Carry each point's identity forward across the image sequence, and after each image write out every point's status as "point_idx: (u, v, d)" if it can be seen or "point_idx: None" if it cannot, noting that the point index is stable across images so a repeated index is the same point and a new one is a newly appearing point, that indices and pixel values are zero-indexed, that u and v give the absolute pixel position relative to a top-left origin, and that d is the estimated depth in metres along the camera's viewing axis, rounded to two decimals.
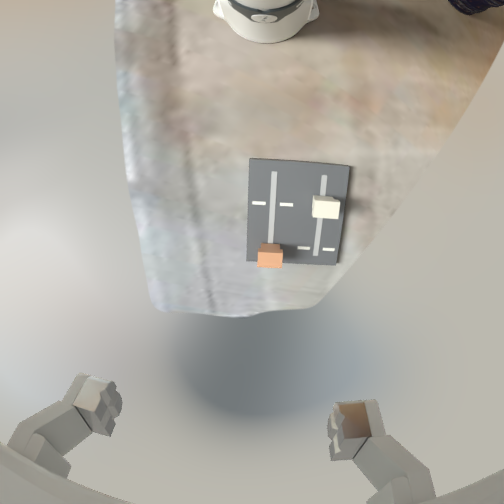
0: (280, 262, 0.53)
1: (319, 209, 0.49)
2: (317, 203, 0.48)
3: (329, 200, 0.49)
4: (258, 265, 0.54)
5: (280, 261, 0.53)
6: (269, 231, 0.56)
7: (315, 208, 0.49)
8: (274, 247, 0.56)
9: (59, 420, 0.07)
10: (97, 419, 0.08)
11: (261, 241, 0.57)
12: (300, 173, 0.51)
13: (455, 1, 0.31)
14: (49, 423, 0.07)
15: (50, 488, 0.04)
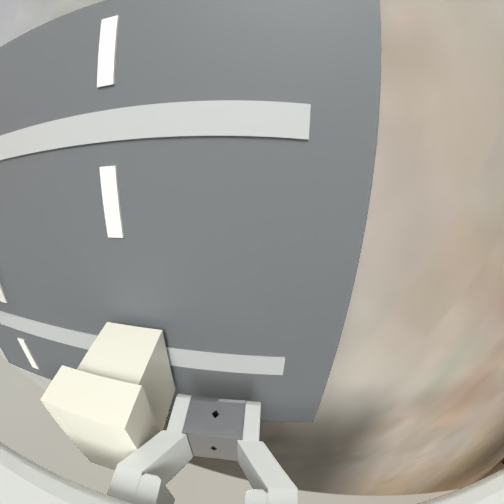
0: None
1: (89, 430, 0.07)
2: (113, 433, 0.06)
3: None
4: None
5: None
6: (0, 140, 0.08)
7: (84, 420, 0.06)
8: None
9: (169, 452, 0.07)
10: (211, 443, 0.08)
11: None
12: (294, 271, 0.09)
13: None
14: (159, 458, 0.07)
15: (50, 488, 0.04)
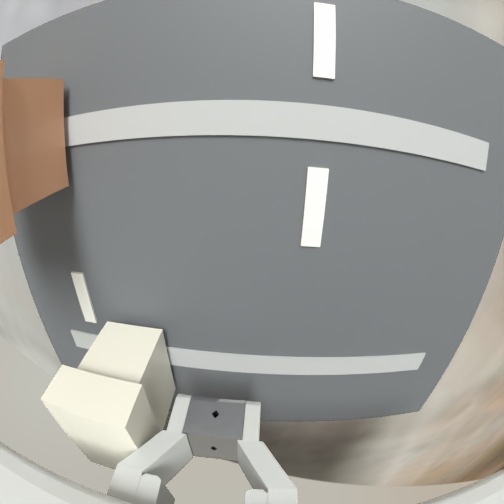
0: None
1: (89, 430, 0.07)
2: (113, 432, 0.06)
3: None
4: None
5: None
6: (130, 112, 0.07)
7: (84, 419, 0.06)
8: (32, 165, 0.06)
9: (169, 452, 0.07)
10: (210, 443, 0.08)
11: (74, 80, 0.07)
12: (455, 277, 0.09)
13: None
14: (159, 458, 0.07)
15: (50, 488, 0.04)
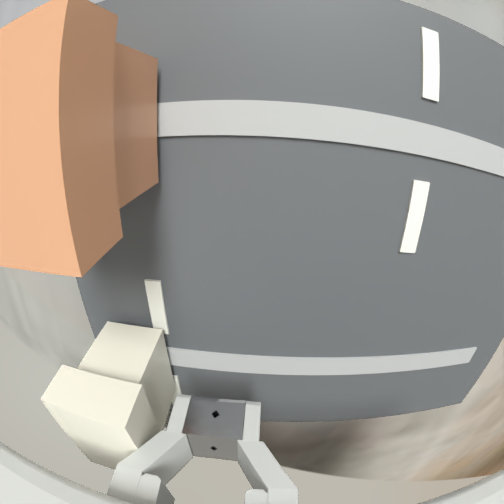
0: (7, 252, 0.04)
1: (89, 430, 0.07)
2: (113, 432, 0.06)
3: None
4: None
5: (13, 252, 0.04)
6: (243, 106, 0.07)
7: (84, 419, 0.06)
8: (131, 154, 0.06)
9: (169, 452, 0.07)
10: (210, 443, 0.08)
11: (168, 63, 0.07)
12: None
13: None
14: (159, 458, 0.07)
15: (50, 488, 0.04)
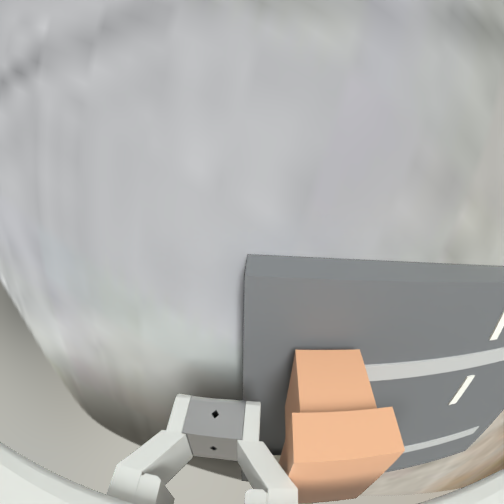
0: (309, 500, 0.07)
1: None
2: None
3: None
4: (305, 464, 0.06)
5: (315, 500, 0.07)
6: (397, 366, 0.11)
7: None
8: None
9: (168, 452, 0.07)
10: (210, 443, 0.08)
11: (359, 343, 0.10)
12: None
13: None
14: (158, 458, 0.07)
15: (50, 488, 0.04)
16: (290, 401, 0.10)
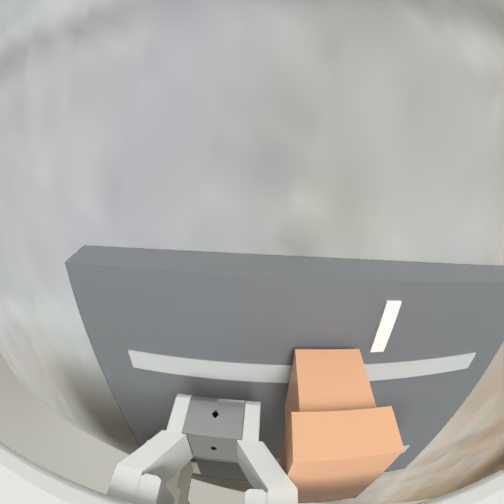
0: (309, 500, 0.07)
1: None
2: None
3: None
4: (304, 463, 0.06)
5: (314, 499, 0.07)
6: (236, 367, 0.11)
7: None
8: None
9: (169, 452, 0.07)
10: (210, 443, 0.08)
11: (178, 335, 0.11)
12: (433, 414, 0.13)
13: None
14: (159, 458, 0.07)
15: (50, 488, 0.04)
16: (290, 400, 0.10)
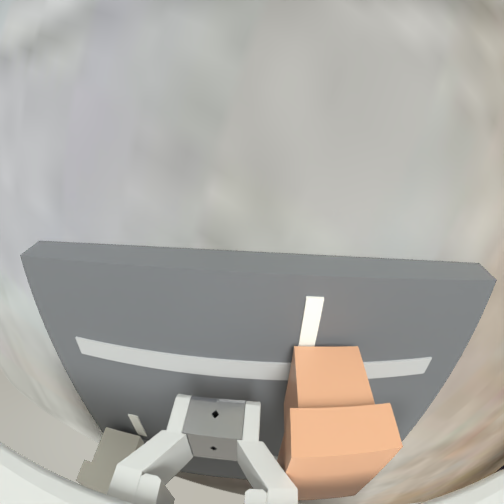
0: (308, 497, 0.08)
1: None
2: None
3: None
4: (303, 459, 0.06)
5: (313, 497, 0.08)
6: (166, 357, 0.11)
7: (101, 491, 0.10)
8: None
9: (168, 452, 0.07)
10: (210, 443, 0.08)
11: (112, 323, 0.11)
12: None
13: None
14: (158, 458, 0.07)
15: (50, 488, 0.04)
16: (289, 398, 0.10)
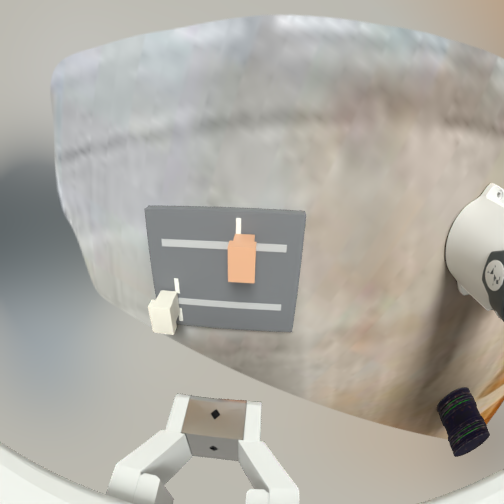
0: (238, 280, 0.34)
1: (159, 313, 0.36)
2: (166, 311, 0.36)
3: (173, 322, 0.38)
4: (230, 248, 0.32)
5: (239, 280, 0.34)
6: (195, 241, 0.37)
7: (159, 309, 0.36)
8: None
9: (168, 452, 0.07)
10: (209, 443, 0.08)
11: (178, 230, 0.37)
12: (283, 280, 0.39)
13: (451, 400, 0.51)
14: (157, 458, 0.07)
15: (50, 488, 0.04)
16: None
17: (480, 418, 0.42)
